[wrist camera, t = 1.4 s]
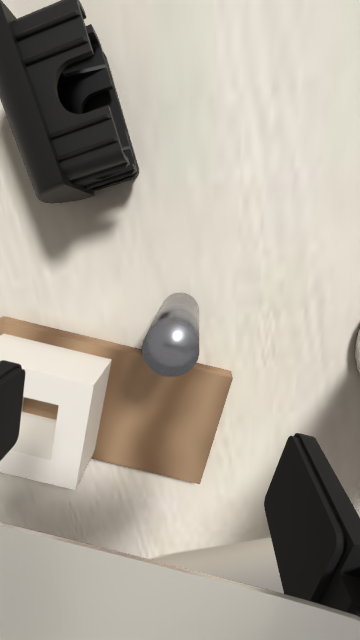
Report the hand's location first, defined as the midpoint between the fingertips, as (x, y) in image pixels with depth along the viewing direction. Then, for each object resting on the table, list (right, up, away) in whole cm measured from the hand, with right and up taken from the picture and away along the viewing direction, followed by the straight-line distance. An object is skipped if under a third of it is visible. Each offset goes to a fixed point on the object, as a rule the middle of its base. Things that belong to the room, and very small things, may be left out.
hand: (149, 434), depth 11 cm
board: (-6, -4, +20) cm, 22 cm away
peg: (+1, +5, +17) cm, 18 cm away
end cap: (-7, +19, +14) cm, 25 cm away
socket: (-11, -3, +19) cm, 22 cm away
